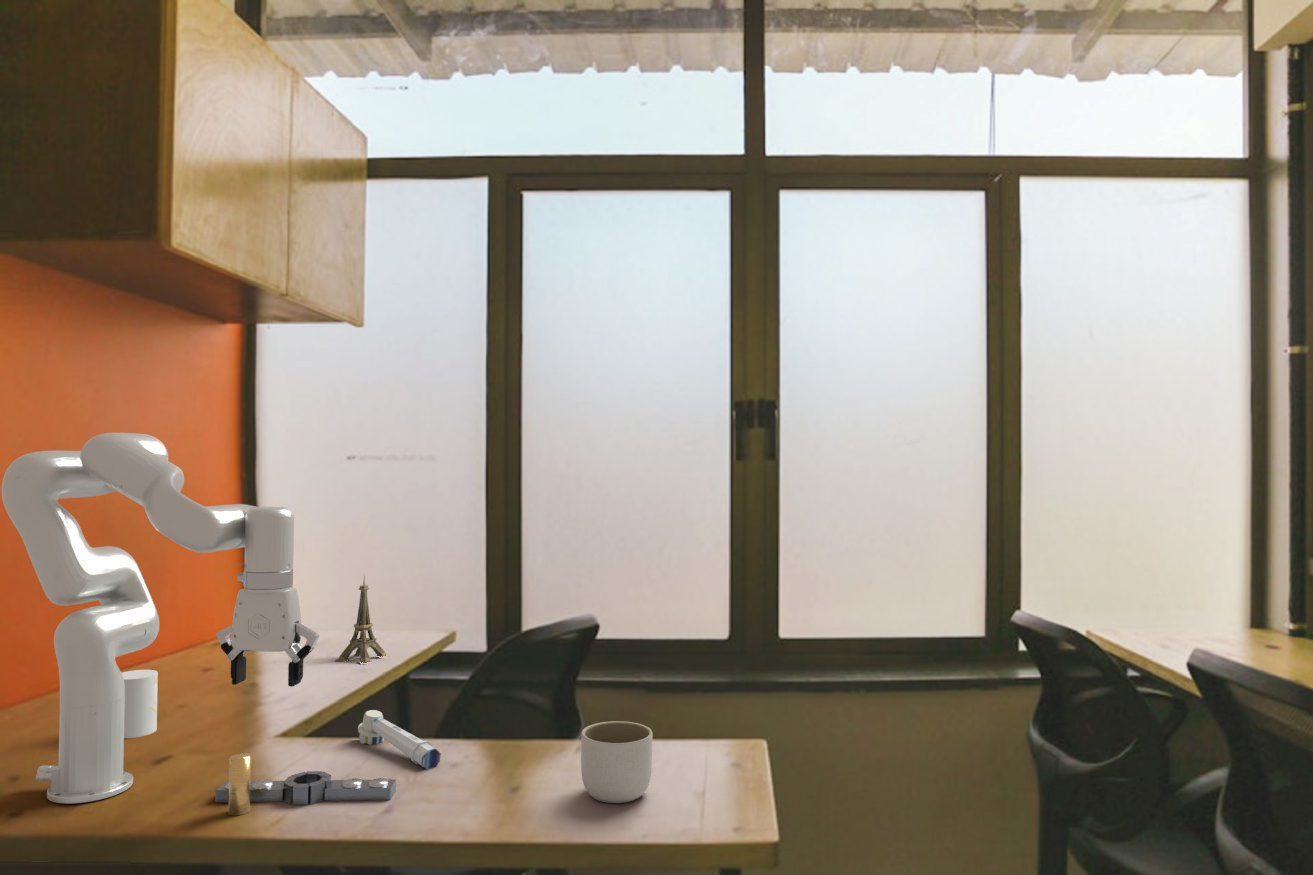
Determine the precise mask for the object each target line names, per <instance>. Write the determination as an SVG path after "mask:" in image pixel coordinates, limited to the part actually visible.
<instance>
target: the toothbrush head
mask: <svg viewBox="0 0 1313 875" xmlns="http://www.w3.org/2000/svg"><path fill="white" fill-rule="evenodd" d="M357 732H358V733H359V736H358V739H359V742H360V744H362V745H364V744H368V745H369V746H370V745H379V744H381V743H383V742H384V741H387V742H388V743H389V744H390V745H393V747H394V748H396V749H398V750H399V751H401V753H403V754H405V755H406V756H407V757H409V758H410V760H411V761H412V762H413V763H414V764H415V765H419V766H421V767H422V768H424V769H425V770H429V769H432V768H435V767H437V766H438V765H439V764H440V763H441V758H442V757H441V756H442V753H441V752H440V751H439V750H438V749H437V748H435V747H434V746H433V745H432V744H431V743H430V742H429V741H428V740H422V739H421V738H419V737H417V736H415V735H414V734H412V733H410V732H408V731H406V730H405V729H402V728H401V727H399V726H397V725H396V724H394V723H391V722H390V721H388V720H387V719H385V718H384V715H383V713H382V712H381V711H379V710H377V709H371V710H366V711H365V713H364V714H363V719H362V722H361V723H360V724H359V725H358V726H357ZM382 741H383V742H382Z"/></svg>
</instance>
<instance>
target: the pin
mask: <svg viewBox="0 0 1313 875" xmlns="http://www.w3.org/2000/svg"><path fill="white" fill-rule="evenodd" d="M228 766H229V767H228V781H229V802H228V813H227V814H228V815H230V816H234V817H235V816H242V815H246V814H249V812H250V810H251V802H250V781H252V780H251V777H252V776H251V775H252V774H251V772H252V771H251V770H252V768H251V767H252V755H251V754H250V753H247V752H244V753H236V754H233V755H230V756H229V762H228Z"/></svg>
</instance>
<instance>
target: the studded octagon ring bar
mask: <svg viewBox="0 0 1313 875" xmlns="http://www.w3.org/2000/svg"><path fill="white" fill-rule="evenodd" d="M396 791H397V779H395V778H394V779H393V778H391V779H390V778H389V779H388V778H385V777H384V778H383V777H378V778H373V779H362V778H348V779H347V778H346V779H332V774H329V773H328V772H326V771H322V770H316V771H315V770H312V771H311V770H308V771H302V772H299V773H294V774H291V775H290V776H288V777H286V778H285V780H272V779H268V778H267V779H259V780H251V781H250V803H252V802H255V803H257V802H258V803H260V802H261V803H263V802H264V803H265V802H266V803H267V802H269V803H271V802H283V801H284V802H285V803H287V804H289V805H292V806H299V805H300V806H307V805H309V804H310V805H313V804H316V803H320V802H323V801H324V802H329V801H332V802H333V801H334V802H335V801H341V802H343V801H389V800H390V801H391V800H392V798H393V797H394V795H395V793H396ZM214 797H215V799H214V800H215V803H229V780H228V781H224V782H223V783H222V784H221V785H219V786H218V788H216V790H215V796H214Z"/></svg>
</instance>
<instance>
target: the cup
mask: <svg viewBox="0 0 1313 875" xmlns="http://www.w3.org/2000/svg"><path fill="white" fill-rule="evenodd" d="M121 673H122V676H123V679H124V685H125V707H124V739H133V738H140V737H146V736H148V735H151V734H153V733H155V732H157V726H158V685H159V684H158V681H159V680H158V678H159V676H158V675H159V673H158V671H157V670H153V669H134V670H128V671H124V672H123V671H121Z"/></svg>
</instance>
